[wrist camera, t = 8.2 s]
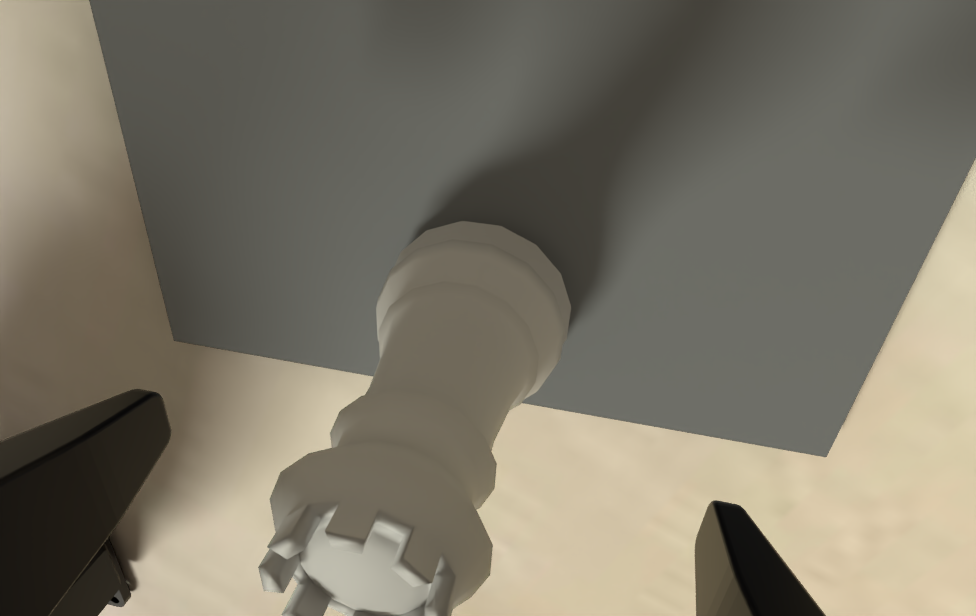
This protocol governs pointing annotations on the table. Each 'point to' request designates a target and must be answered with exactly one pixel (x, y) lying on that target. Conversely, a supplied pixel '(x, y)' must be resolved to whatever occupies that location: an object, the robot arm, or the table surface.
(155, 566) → the table surface
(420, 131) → the rubber mat
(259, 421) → the table surface
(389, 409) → the rook chess piece
